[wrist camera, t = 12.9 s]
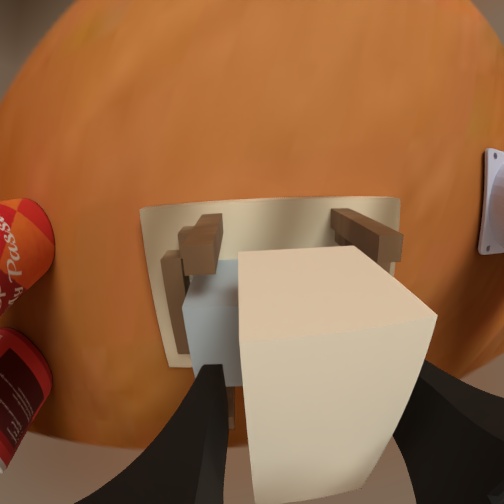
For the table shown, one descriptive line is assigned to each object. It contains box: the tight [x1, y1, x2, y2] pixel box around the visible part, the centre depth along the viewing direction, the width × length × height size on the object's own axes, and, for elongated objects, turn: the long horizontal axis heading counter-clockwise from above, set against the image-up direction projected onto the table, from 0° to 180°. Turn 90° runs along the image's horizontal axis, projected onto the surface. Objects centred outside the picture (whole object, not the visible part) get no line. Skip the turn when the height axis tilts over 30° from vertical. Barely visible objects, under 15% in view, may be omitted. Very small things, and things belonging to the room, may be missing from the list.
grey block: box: [182, 259, 243, 387], centre depth 13 cm, size 8×4×5 cm, turn 92°
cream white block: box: [238, 246, 438, 504], centre depth 8 cm, size 8×4×5 cm, turn 2°
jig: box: [140, 196, 403, 430], centre depth 13 cm, size 14×10×6 cm
